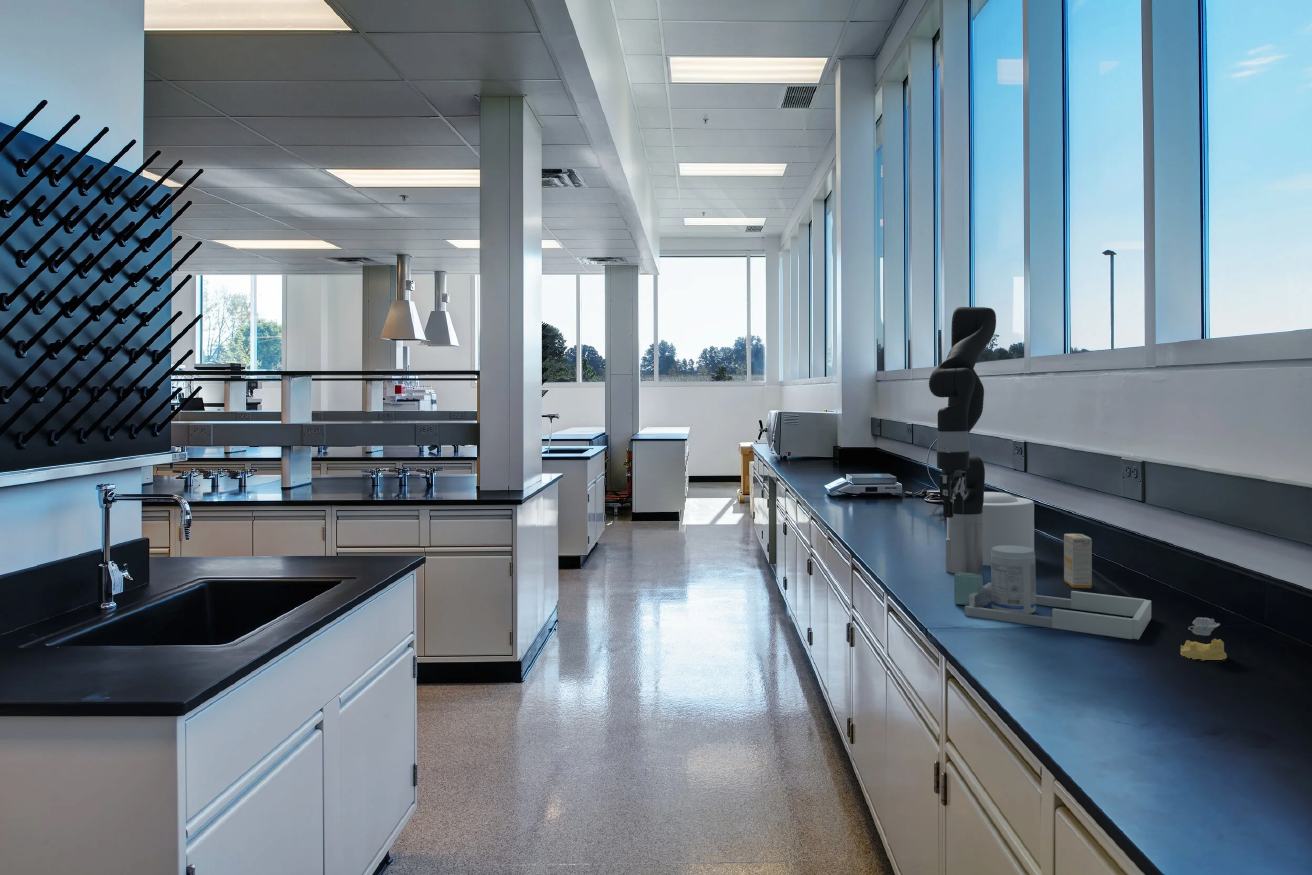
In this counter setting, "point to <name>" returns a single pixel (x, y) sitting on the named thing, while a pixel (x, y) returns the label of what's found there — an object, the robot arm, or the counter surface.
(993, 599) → the supplement tub
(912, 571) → the counter surface
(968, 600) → the scraper sled
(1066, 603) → the guide rails
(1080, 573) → the supplement box
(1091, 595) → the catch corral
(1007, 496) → the container
